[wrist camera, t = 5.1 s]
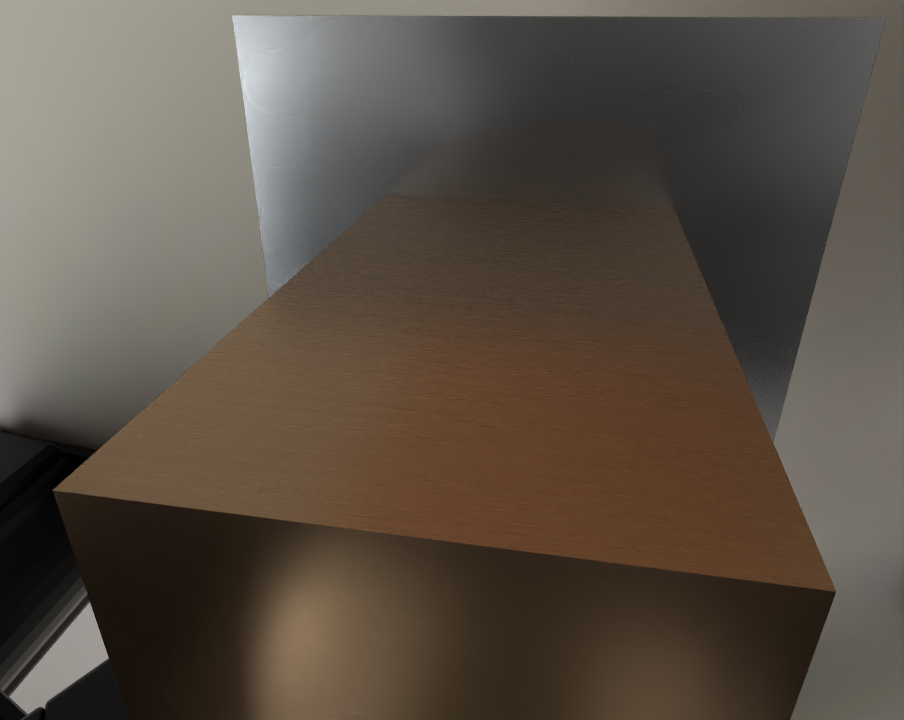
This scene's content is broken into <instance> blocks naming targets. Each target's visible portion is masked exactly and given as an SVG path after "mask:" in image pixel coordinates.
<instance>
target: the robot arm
mask: <svg viewBox="0 0 904 720" xmlns="http://www.w3.org/2000/svg"><path fill="white" fill-rule="evenodd" d="M96 451H97V450H93V449H88V448H83V447H77V446H72V445H67V444H62V443H57V442H52V441H47V440H41V439H36V438H31V437H26V436H21V435H16V434H10V433H5V432H0V720H130V719H129V716H128V713H127V710H126V707H125V704H124V701H123V698H122V695H121V692H120V689H119V686H118V683H117V680H116V677H115V674H114V671H113V669H112V666H111V663H110V660H109V659H107V660H106V661H104V662H103V663H101V664H100V665H99V666H97V667H96V668H94V669H93V670H91V671H90V672H89V673H87V674H86V675H84V676H83V677H81V678H80V679H79V680H77V681H76V682H74V683H73V684H71V685H70V686H69V687H67V688H66V689H64V690H63V691H61V692H60V693H59V694H57V695H56V696H54V697H53V698H52V699H50V700H49V701H48V702H47V703H46V706H45V709H44V708H42V707H39V708H37V709H35V710H34V711H32V712H31V713H30V714H27V713H26V712H25V711H24V710H23V709H21V708H20V707H19V706H18V705H17V704H16V703H15V702H14V701H13V700H12V699H11V698H10V697H9V696H10V695H11V694H12V693H13V691H14V690H15V689H16V688H17V687H18V686H19V684H20V683H21V682H22V681H23V680H24V679H25V677H26V676H27V675H28V674H29V673H30V671H31V670H32V669H33V668H34V667H35V666H36V664H37V663H38V662H39V661H40V660H41V659H42V657H43V656H44V655H45V654H46V653H47V651H48V650H49V649H50V648H51V647H52V646H53V644H54V643H55V642H56V641H57V640H58V639H59V637H60V636H61V635H62V634H63V633H64V631H65V630H66V629H67V628H68V627H69V626H70V624H71V623H72V622H73V621H74V620H75V619H76V617H77V616H78V615H79V614H80V613H81V611H82V610H83V609H84V608H85V607H86V606H87V604H88V603H89V602H90V600H89V597H88V594H87V591H86V588H85V585H84V582H83V579H82V576H81V573H80V570H79V567H78V565H77V562H76V559H75V556H74V553H73V550H72V547H71V544H70V541H69V538H68V535H67V532H66V529H65V526H64V523H63V520H62V517H61V514H60V511H59V508H58V505H57V502H56V499H55V496H54V493H53V489H55V488H56V487H57V486H58V485H59V484H60V483H61V482H62V481H64V480H65V479H66V478H67V477H68V476H69V475H70V474H71V473H73V472H74V471H75V470H76V469H77V468H78V467H79V466H80V465H82V464H83V463H84V462H85V461H86V460H87V459H88V458H89V457H91V456H92V455H93V454H94V453H95V452H96Z"/></svg>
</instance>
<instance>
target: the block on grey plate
mask: <svg viewBox="0 0 904 720" xmlns="http://www.w3.org/2000/svg"><path fill="white" fill-rule="evenodd" d="M232 18H233V25H234V33H235V40H236V48H237V56H238V63H239V71H240V79H241V86H242V94H243V102H244V109H245V117H246V124H247V132H248V140H249V147H250V155H251V163H252V170H253V178H254V186H255V193H256V201H257V208H258V216H259V224H260V231H261V239H262V247H263V254H264V262H265V270H266V277H267V285H268V293H269V298H268V299H267V300H266V301H265V302H264V303H263V304H262V305H260V306H259V307H258V308H257V309H256V310H255V311H254V312H253V313H251V314H250V315H249V316H248V317H247V318H246V319H245V320H244V321H242V322H241V323H240V324H239V325H238V326H237V327H236V328H235V329H233V330H232V331H231V332H230V333H229V334H228V335H227V336H226V337H224V338H223V339H222V340H221V341H220V342H219V343H218V344H217V345H215V346H214V347H213V348H212V349H211V350H210V351H209V352H208V353H206V354H205V355H204V356H203V357H202V358H201V359H200V360H199V361H197V362H196V363H195V364H194V365H193V366H192V367H191V368H190V369H188V370H187V371H186V372H185V373H184V374H183V375H182V376H181V377H179V378H178V379H177V380H176V381H175V382H174V383H173V384H172V385H170V386H169V387H168V388H167V389H166V390H165V391H164V392H163V393H161V394H160V395H159V396H158V397H157V398H156V399H155V400H154V401H152V402H151V403H150V404H149V405H148V406H147V407H146V408H145V409H143V410H142V411H141V412H140V413H139V414H138V415H137V416H136V417H134V418H133V419H132V420H131V421H130V422H129V423H128V424H127V425H125V426H124V427H123V428H122V429H121V430H120V431H119V432H118V433H116V434H115V435H114V436H113V437H112V438H111V439H110V440H109V441H107V442H106V443H105V444H104V445H103V446H102V447H101V448H100V449H98V450H97V451H96V452H95V453H94V454H93V455H92V456H91V457H89V458H88V459H87V460H86V461H85V462H84V463H83V464H82V465H80V466H79V467H78V468H77V469H76V470H75V471H74V472H73V473H71V474H70V475H69V476H68V477H67V478H66V479H65V480H64V481H62V482H61V483H60V484H59V485H58V486H57V487H56V488H55V489H53V493H54V496H55V499H56V502H57V505H58V508H59V511H60V514H61V517H62V520H63V523H64V526H65V529H66V532H67V535H68V538H69V541H70V544H71V547H72V550H73V553H74V556H75V559H76V562H77V565H78V567H79V570H80V573H81V576H82V579H83V582H84V585H85V588H86V591H87V594H88V597H89V600H90V603H91V606H92V609H93V612H94V615H95V618H96V621H97V624H98V627H99V630H100V633H101V636H102V639H103V642H104V645H105V648H106V651H107V654H108V657H109V660H110V663H111V666H112V669H113V671H114V674H115V677H116V680H117V683H118V686H119V689H120V692H121V695H122V698H123V701H124V704H125V707H126V710H127V713H128V716H129V719H130V720H790V718H791V715H792V713H793V710H794V707H795V704H796V702H797V699H798V696H799V693H800V690H801V688H802V685H803V682H804V679H805V677H806V674H807V671H808V668H809V666H810V663H811V660H812V657H813V654H814V652H815V649H816V646H817V643H818V641H819V638H820V635H821V632H822V629H823V627H824V624H825V621H826V618H827V616H828V613H829V610H830V607H831V605H832V602H833V599H834V596H835V593H836V590H835V588H834V586H833V583H832V581H831V579H830V576H829V574H828V571H827V569H826V567H825V564H824V562H823V560H822V557H821V555H820V553H819V550H818V548H817V545H816V543H815V541H814V538H813V536H812V534H811V531H810V529H809V527H808V524H807V522H806V519H805V517H804V515H803V512H802V510H801V508H800V505H799V503H798V501H797V498H796V496H795V494H794V491H793V489H792V486H791V484H790V482H789V479H788V477H787V475H786V472H785V470H784V468H783V465H782V463H781V460H780V458H779V456H778V453H777V451H776V449H775V446H774V444H773V442H774V438H775V434H776V430H777V427H778V423H779V419H780V415H781V412H782V408H783V404H784V400H785V397H786V393H787V389H788V385H789V381H790V378H791V374H792V370H793V366H794V363H795V359H796V355H797V351H798V348H799V344H800V340H801V336H802V333H803V329H804V325H805V321H806V317H807V314H808V310H809V306H810V302H811V299H812V295H813V291H814V287H815V284H816V280H817V276H818V272H819V268H820V265H821V261H822V257H823V253H824V250H825V246H826V242H827V238H828V235H829V231H830V227H831V223H832V219H833V216H834V212H835V208H836V204H837V201H838V197H839V193H840V189H841V186H842V182H843V178H844V174H845V171H846V167H847V163H848V159H849V155H850V152H851V148H852V144H853V140H854V137H855V133H856V129H857V125H858V122H859V118H860V114H861V110H862V106H863V103H864V99H865V95H866V91H867V88H868V84H869V80H870V76H871V73H872V69H873V65H874V61H875V58H876V54H877V50H878V46H879V42H880V39H881V35H882V31H883V27H884V24H885V20H886V18H863V17H617V16H352V15H232Z"/></svg>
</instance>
